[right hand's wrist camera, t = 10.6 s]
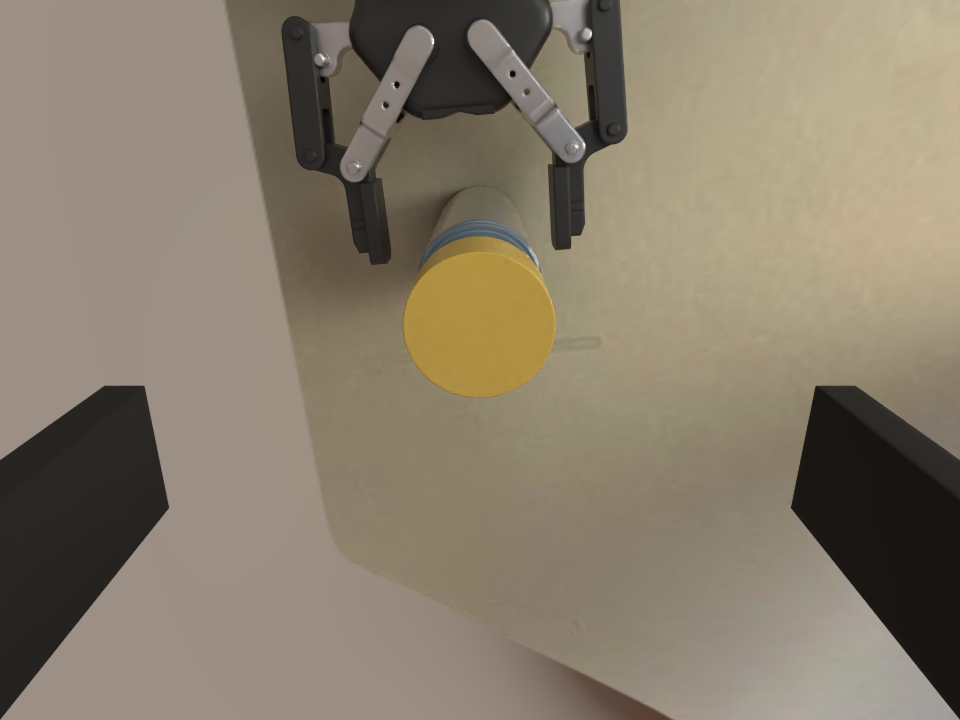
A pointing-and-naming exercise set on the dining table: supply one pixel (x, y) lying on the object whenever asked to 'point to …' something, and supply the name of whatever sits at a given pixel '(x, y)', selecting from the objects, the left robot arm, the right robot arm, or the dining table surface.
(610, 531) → the dining table surface
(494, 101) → the left robot arm
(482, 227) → the bottle
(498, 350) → the cap
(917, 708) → the dining table surface
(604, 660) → the dining table surface
